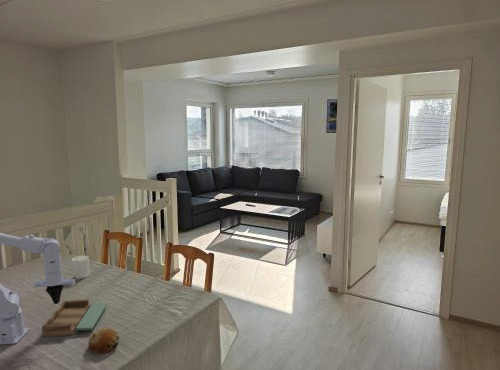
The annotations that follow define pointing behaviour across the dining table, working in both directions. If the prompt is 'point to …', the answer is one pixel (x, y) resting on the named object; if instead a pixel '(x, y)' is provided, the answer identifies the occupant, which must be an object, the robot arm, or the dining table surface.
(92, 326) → the panel
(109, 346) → the bread roll
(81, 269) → the white cup
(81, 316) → the tray
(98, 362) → the dining table surface
